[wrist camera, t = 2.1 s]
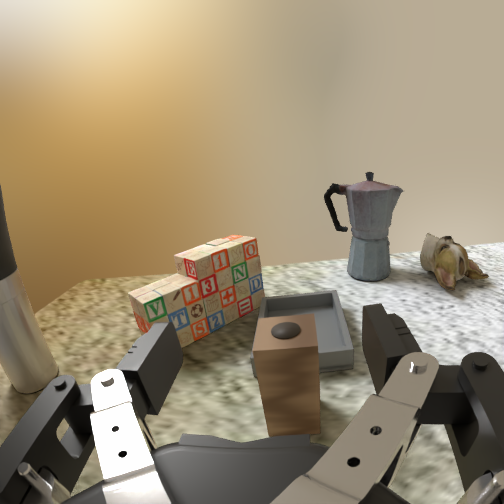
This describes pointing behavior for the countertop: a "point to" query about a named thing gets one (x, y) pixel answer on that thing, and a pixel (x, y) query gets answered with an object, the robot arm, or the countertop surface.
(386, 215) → the moka pot
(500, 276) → the countertop surface
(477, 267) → the ceramic sculpture
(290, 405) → the walnut block
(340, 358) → the charcoal tray
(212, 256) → the stack of blocks
